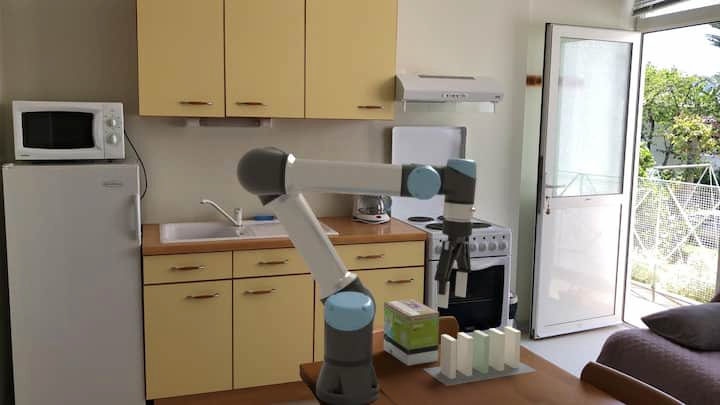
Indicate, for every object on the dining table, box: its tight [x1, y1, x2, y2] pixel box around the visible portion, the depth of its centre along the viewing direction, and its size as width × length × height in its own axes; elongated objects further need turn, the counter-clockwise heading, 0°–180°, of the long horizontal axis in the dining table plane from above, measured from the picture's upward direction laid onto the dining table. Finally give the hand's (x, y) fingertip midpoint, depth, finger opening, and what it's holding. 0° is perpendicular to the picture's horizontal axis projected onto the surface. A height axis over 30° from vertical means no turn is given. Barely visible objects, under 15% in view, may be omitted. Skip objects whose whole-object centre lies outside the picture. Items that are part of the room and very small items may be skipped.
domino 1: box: [439, 334, 457, 379], centre depth 154 cm, size 2×5×10 cm, turn 23°
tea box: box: [383, 298, 440, 366], centre depth 169 cm, size 15×10×15 cm
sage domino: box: [472, 329, 490, 374], centre depth 158 cm, size 2×5×10 cm, turn 24°
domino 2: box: [456, 331, 473, 376], centre depth 156 cm, size 2×5×10 cm, turn 23°
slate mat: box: [422, 360, 538, 387], centre depth 159 cm, size 28×12×1 cm, turn 113°
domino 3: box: [488, 327, 505, 371], centre depth 160 cm, size 2×5×10 cm, turn 23°
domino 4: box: [503, 326, 522, 369], centre depth 162 cm, size 2×5×10 cm, turn 23°
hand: (451, 301), depth 154 cm, fingers open, 13 cm apart
